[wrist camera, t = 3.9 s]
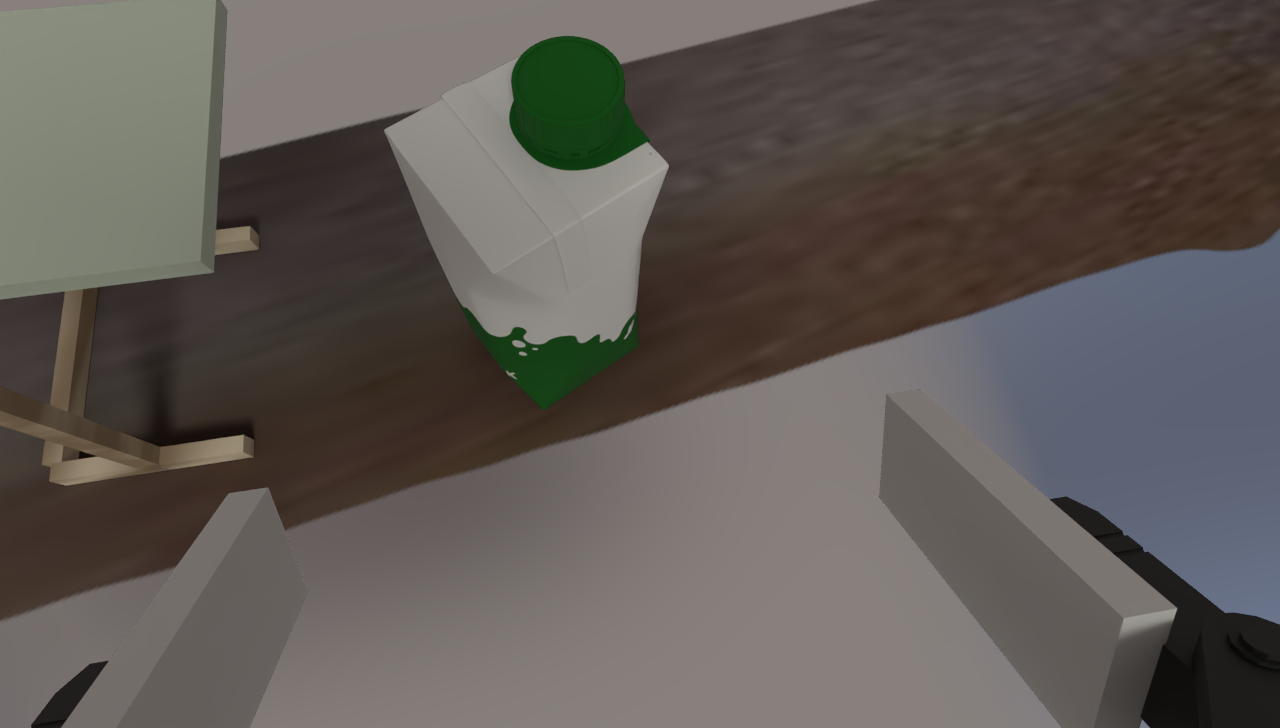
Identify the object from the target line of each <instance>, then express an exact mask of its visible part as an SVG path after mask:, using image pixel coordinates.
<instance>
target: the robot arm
mask: <svg viewBox="0 0 1280 728" xmlns="http://www.w3.org/2000/svg"><path fill="white" fill-rule="evenodd" d="M879 498H880V499H881V500H882V502H883V503H884V504H885V505H886V506H887V508H888V509H889V510H890V512H891V513H892V514H893V515H894V517H895V518H896V519H897V521H898V522H899V523H900V524H901V525H902V527H903V528H904V529H905V531H906V532H907V533H908V534H909V536H910V537H911V538H912V539H913V541H914V542H915V543H916V544H917V546H918V547H919V548H920V550H921V551H922V552H923V553H924V555H925V556H926V557H927V558H928V560H929V561H930V562H931V563H932V565H933V566H934V567H935V569H936V570H937V571H938V572H939V574H940V575H941V576H942V577H943V579H944V580H945V581H946V582H947V584H948V585H949V586H950V587H951V589H952V590H953V591H954V592H955V594H956V595H957V596H958V598H959V599H960V600H961V601H962V603H963V604H964V605H965V606H966V608H967V609H968V610H969V611H970V613H971V614H972V615H973V616H974V618H975V619H976V620H977V622H979V624H980V625H981V626H982V628H983V629H984V630H985V632H986V633H987V634H988V636H989V637H990V638H991V639H992V640H993V642H994V643H995V644H996V646H997V647H998V648H999V649H1000V651H1001V652H1002V653H1003V654H1004V656H1005V657H1006V658H1007V660H1008V661H1009V662H1010V663H1011V665H1012V666H1013V667H1014V668H1015V670H1016V671H1017V672H1018V673H1019V675H1020V676H1021V677H1022V678H1023V680H1024V681H1025V682H1026V684H1027V685H1028V686H1029V687H1030V689H1031V690H1032V691H1033V692H1034V694H1035V695H1036V696H1037V697H1038V699H1039V700H1040V701H1041V702H1042V704H1043V705H1044V706H1045V708H1046V709H1047V710H1048V711H1049V713H1050V714H1051V715H1052V716H1053V718H1054V719H1055V720H1056V721H1057V723H1058V724H1059V725H1060V726H1061V728H1139V727H1140V724H1141V721H1142V719H1143V720H1144V721H1145V723H1146V724H1147V725H1148V726H1149V727H1150V728H1280V625H1279V624H1276V623H1274V622H1271V621H1268V620H1265V619H1262V618H1260V617H1257V616H1251V615H1245V614H1239V613H1224V612H1223V611H1222V610H1221V609H1219V608H1218V607H1217V606H1216V605H1214V604H1213V603H1212V602H1211V601H1209V600H1208V599H1207V598H1206V597H1204V596H1203V595H1202V594H1200V593H1199V592H1198V591H1197V590H1196V589H1194V588H1193V587H1192V586H1190V585H1189V584H1188V583H1187V582H1185V581H1184V580H1183V579H1181V578H1180V577H1179V576H1178V575H1177V574H1175V573H1174V572H1173V571H1172V570H1170V569H1169V568H1168V567H1167V566H1165V565H1164V564H1163V563H1162V562H1160V561H1159V560H1158V559H1157V558H1155V557H1154V556H1153V555H1151V554H1150V553H1149V552H1144V551H1143V547H1141V546H1140V545H1139V544H1137V542H1135V541H1134V540H1133V539H1131V538H1130V537H1129V536H1128V535H1126V536H1124V535H1123V532H1122V530H1120V529H1119V528H1117V526H1115V525H1114V524H1113V523H1111V522H1110V521H1109V520H1108V519H1106V518H1105V517H1104V516H1102V515H1101V514H1100V513H1099V512H1097V511H1095V510H1093V509H1091V508H1089V507H1087V506H1085V505H1083V504H1081V503H1078V502H1077V501H1074V500H1072V499H1070V498H1068V497H1061V498H1055V499H1048V498H1047V497H1046V496H1045V495H1043V494H1042V493H1041V492H1040V491H1039V490H1038V489H1036V488H1035V487H1034V486H1033V485H1032V484H1030V483H1029V482H1028V481H1027V480H1026V479H1024V478H1023V477H1022V476H1021V475H1020V474H1019V473H1017V472H1016V471H1015V470H1014V469H1013V468H1011V467H1010V466H1009V465H1008V464H1007V463H1006V462H1005V461H1003V460H1002V459H1001V458H1000V457H999V456H997V455H996V454H995V453H994V452H993V451H992V450H990V449H989V448H988V447H987V446H986V445H984V444H983V443H982V442H981V441H980V440H979V439H977V438H976V437H975V436H974V435H973V434H972V433H970V432H969V431H968V430H967V429H966V428H964V427H963V426H962V425H961V424H960V423H959V422H957V421H956V420H955V419H954V418H953V417H952V416H950V415H949V414H948V413H947V412H946V411H944V410H943V409H942V408H941V407H940V406H939V405H937V404H936V403H935V402H934V401H933V400H931V399H930V398H929V397H928V396H927V395H926V394H924V393H923V392H922V391H921V390H920V389H917V390H910V391H904V392H897V393H891V394H886V405H885V421H884V434H883V449H882V464H881V480H880V494H879ZM307 593H308V590H307V587H306V585H305V582H304V580H303V577H302V574H301V572H300V569H299V567H298V564H297V561H296V559H295V556H294V554H293V551H292V548H291V546H290V543H289V541H288V538H287V535H286V533H285V530H284V527H283V525H282V522H281V520H280V517H279V514H278V512H277V509H276V507H275V504H274V502H273V499H272V496H271V494H270V491H269V489H268V488H261V489H255V490H248V491H241V492H235V493H229V494H228V495H227V497H226V498H225V499H224V501H223V502H222V504H221V505H220V506H219V508H218V509H217V511H216V512H215V513H214V515H213V516H212V518H211V519H210V520H209V522H208V523H207V525H206V526H205V527H204V529H203V530H202V532H201V533H200V534H199V536H198V537H197V538H196V540H195V541H194V543H193V544H192V545H191V547H190V548H189V550H188V551H187V552H186V554H185V555H184V557H183V558H182V559H181V561H180V562H179V564H178V565H177V566H176V568H175V569H174V571H173V572H172V574H171V575H170V576H169V578H168V579H167V580H166V582H165V583H164V585H163V586H162V587H161V589H160V590H159V592H158V593H157V594H156V596H155V597H154V599H153V600H152V602H151V603H150V604H149V606H148V607H147V609H146V610H145V611H144V613H143V614H142V615H141V617H140V618H139V620H138V621H137V622H136V624H135V625H134V627H133V628H132V630H131V631H130V632H129V634H128V635H127V636H126V638H125V639H124V641H123V642H122V643H121V645H120V646H119V648H118V649H117V650H116V652H115V653H114V655H113V656H112V657H111V659H110V660H109V661H105V662H99V663H93V664H89V665H88V666H87V667H86V668H85V669H83V671H81V672H80V673H79V674H78V675H76V676H75V677H74V678H73V679H72V680H71V681H69V682H68V683H67V684H66V685H65V686H64V687H63V688H61V689H60V690H59V691H58V692H57V693H55V695H54V696H53V697H52V699H51V700H50V701H49V702H48V704H47V705H46V707H45V708H44V709H43V710H42V712H41V713H40V714H39V716H38V717H37V718H36V720H35V721H34V722H33V724H32V725H31V728H250V725H251V723H252V721H253V718H254V716H255V714H256V711H257V709H258V707H259V705H260V702H261V700H262V698H263V695H264V693H265V691H266V688H267V686H268V684H269V681H270V679H271V677H272V674H273V672H274V670H275V667H276V665H277V663H278V661H279V658H280V656H281V653H282V651H283V649H284V647H285V644H286V642H287V640H288V637H289V635H290V633H291V630H292V628H293V625H294V623H295V621H296V619H297V617H298V614H299V612H300V609H301V607H302V605H303V602H304V600H305V598H306V596H307Z"/></svg>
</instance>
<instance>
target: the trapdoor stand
mask: <svg viewBox="0 0 1280 728" xmlns="http://www.w3.org/2000/svg"><path fill="white" fill-rule="evenodd" d="M259 237H260V236H259V235H258V234H257V233H256V232H255V231H254V230H253V228H252V227H251V226H246V227H237V228H229V229H221V230H216V240H215V255H219V254H228V253H236V252H244V251H252V250H259ZM98 288H99V287H95V288H87V289H79V290H71V291H65V296H64V304H63V311H62V318H61V326H60V333H59V341H58V348H57V355H56V363H55V370H54V378H53V385H52V392H51V400H50V405H48V404H46V403H43V402H40V401H38V400H35V399H33V398H30V397H27V396H25V395H22V394H19V393H17V392H14V391H12V390H9V389H6V388H4V387H1V386H0V426H3V427H7V428H10V429H13V430H16V431H19V432H22V433H25V434H29V435H32V436H35V437H38V438H41V439H44V440H45V444H44V451H43V459H42V465H44V466H48V467H51V471H50V479H49V482H53V483H57V484H62V485H66V486H67V485H73V484H80V483H86V482H93V481H100V480H106V479H113V478H119V477H126V476H132V475H139V474H146V473H152V472H159V471H165V470H172V469H179V468H185V467H192V466H198V465H205V464H211V463H218V462H225V461H231V460H238V459H244V458H251V457H254V440H253V439H251V438H249V437H247V436H245V435H239V436H232V437H225V438H219V439H212V440H205V441H199V442H192V443H185V444H178V445H172V446H165V447H159V446H156V445H153V444H151V443H148V442H145V441H143V440H140V439H138V438H135V437H132V436H130V435H127V434H124V433H122V432H119V431H117V430H114V429H111V428H109V427H106V426H103V425H101V424H98V423H96V422H93V421H90V420H88V419H85V418H83V417H84V408H85V400H86V391H87V382H88V374H89V365H90V357H91V348H92V340H93V331H94V322H95V314H96V305H97V297H98ZM79 451H82V452H86V453H89V454H92V455H95V456H98V457H91V458H84V459H79Z"/></svg>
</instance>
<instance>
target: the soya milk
mask: <svg viewBox="0 0 1280 728" xmlns="http://www.w3.org/2000/svg"><path fill="white" fill-rule="evenodd" d="M384 132H385V134H386V136H387V138H388V141H389V143H390V146H391V148H392V150H393V153H394V155H395V158H396V160H397V162H398V165H399V167H400V170H401V172H402V174H403V177H404V179H405V182H406V184H407V187H408V189H409V192H410V194H411V197H412V199H413V202H414V204H415V207H416V209H417V212H418V214H419V217H420V219H421V222H422V224H423V227H424V229H425V231H426V234H427V236H428V239H429V241H430V243H431V245H432V247H433V249H434V251H435V254H436V256H437V258H438V260H439V262H440V264H441V266H442V268H443V270H444V272H445V275H446V277H447V279H448V281H449V283H450V285H451V287H452V289H453V291H454V293H455V295H456V297H457V300H458V302H459V304H460V306H461V308H462V310H463V312H464V314H465V316H466V318H467V320H468V322H469V324H470V326H471V327H472V329H473V330H474V332H475V333H476V335H477V336H478V337H479V339H480V340H481V341H482V343H483V344H484V345H485V347H486V348H487V349H488V351H489V352H490V353H491V355H492V356H493V357H494V359H495V360H496V362H497V363H498V364H499V365H500V367H501V368H502V369H503V370H504V371H505V372H506V373H507V374H508V375H509V376H510V377H511V378H512V379H513V380H514V381H515V382H516V383H517V384H518V385H519V386H520V387H521V388H522V389H523V390H524V391H525V392H526V393H527V394H528V395H529V396H530V397H531V398H532V399H533V400H534V401H535V402H536V403H537V404H538V405H539V406H540V407H541V408H542V409H543V410H545V409H547V408H548V407H550V406H551V405H553V404H554V403H556V402H557V401H558V400H560V399H561V398H563V397H564V396H566V395H567V394H569V393H570V392H572V391H573V390H575V389H576V388H577V387H579V386H580V385H582V384H583V383H585V382H586V381H588V380H589V379H591V378H592V377H594V376H595V375H596V374H598V373H599V372H601V371H602V370H604V369H605V368H607V367H608V366H610V365H611V364H613V363H614V362H615V361H617V360H618V359H620V358H621V357H623V356H624V355H626V354H627V353H629V352H630V351H632V350H633V349H634V348H636V347H637V346H639V341H638V318H637V294H638V281H639V269H640V257H641V245H642V237H643V234H644V231H645V228H646V226H647V223H648V220H649V218H650V215H651V212H652V210H653V207H654V204H655V202H656V199H657V196H658V194H659V191H660V189H661V186H662V183H663V181H664V178H665V175H666V173H667V170H668V168H669V165H668V163H667V162H666V161H665V160H664V159H663V158H662V157H661V156H660V155H659V154H658V153H657V152H656V151H655V150H654V148H653V147H652V146H651V145H650V144H649V142H650V139H649V138H648V137H647V136H646V135H645V134H644V132H643V131H642V130H641V129H640V128H639V127H638V126H637V125H636V124H635V123H634V120H633V117H632V115H631V112H630V110H629V108H628V107H627V105H626V104H625V80H624V74H623V70H622V67H621V65H620V63H619V61H618V60H617V58H616V57H615V56H614V55H613V54H612V53H611V52H610V51H609V50H608V49H607V48H605V47H604V46H602V45H600V44H599V43H597V42H594V41H592V40H589V39H585V38H581V37H574V36H561V37H554V38H550V39H547V40H544V41H541V42H539V43H537V44H535V45H534V46H532V47H530V48H529V49H527V50H526V51H525V52H524V53H523V54H522V55H521V56H519V57H517V58H515V59H513V60H511V61H509V62H507V63H505V64H503V65H501V66H499V67H497V68H496V69H493V70H491V71H489V72H487V73H485V74H484V75H481V76H480V77H478V78H476V79H474V80H472V81H470V82H468V83H467V82H466V83H463V84H461V85H458V86H456V87H454V88H452V89H451V90H449V91H447V92H445V93H444V94H442V95H441V100H439V101H438V102H436V103H434V104H432V105H430V106H428V107H426V108H424V109H422V110H420V111H418V112H416V113H415V114H413V115H411V116H409V117H407V118H405V119H403V120H401V121H399V122H397V123H395V124H394V125H392V126H390V127H388V128H386V129H385V130H384Z"/></svg>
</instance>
